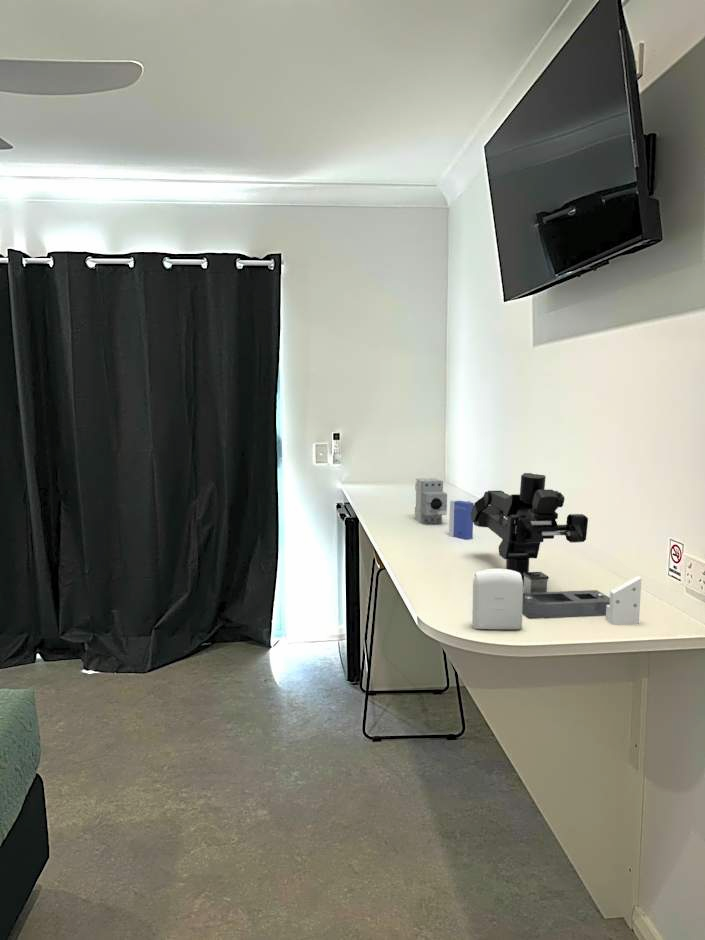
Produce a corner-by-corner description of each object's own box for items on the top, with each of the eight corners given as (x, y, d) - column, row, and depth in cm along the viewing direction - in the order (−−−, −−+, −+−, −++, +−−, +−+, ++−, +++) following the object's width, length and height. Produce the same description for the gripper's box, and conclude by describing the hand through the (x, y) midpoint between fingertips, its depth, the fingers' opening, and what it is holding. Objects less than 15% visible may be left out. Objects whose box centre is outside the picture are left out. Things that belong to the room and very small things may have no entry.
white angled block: (659, 613, 160) (641, 578, 159) (618, 636, 160) (599, 601, 159) (652, 607, 163) (634, 573, 162) (611, 630, 164) (593, 596, 163)
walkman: (472, 538, 243) (473, 501, 242) (466, 539, 242) (467, 502, 240) (454, 534, 249) (455, 498, 248) (448, 535, 248) (449, 499, 246)
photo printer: (473, 630, 155) (474, 571, 154) (470, 623, 159) (472, 566, 158) (523, 631, 155) (526, 572, 153) (519, 624, 159) (522, 567, 157)
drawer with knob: (522, 597, 179) (523, 571, 178) (539, 596, 180) (540, 570, 179) (529, 602, 175) (530, 576, 174) (547, 601, 176) (548, 575, 175)
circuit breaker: (427, 527, 262) (428, 484, 260) (414, 519, 275) (415, 478, 274) (448, 526, 263) (449, 483, 262) (434, 518, 277) (435, 478, 275)
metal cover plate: (513, 606, 172) (514, 591, 171) (595, 602, 175) (596, 588, 175) (529, 618, 163) (529, 603, 162) (615, 614, 166) (616, 599, 166)
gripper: (500, 487, 178) (525, 504, 163) (574, 486, 181) (606, 503, 166) (496, 532, 181) (520, 553, 166) (570, 531, 184) (600, 552, 169)
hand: (562, 539), depth 167 cm, fingers open, 9 cm apart
